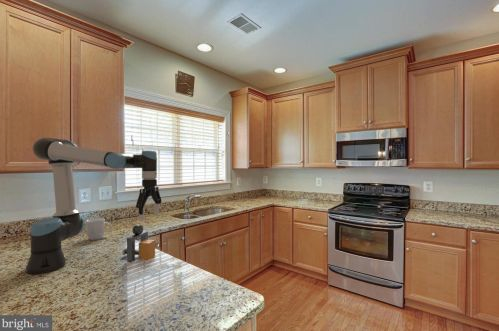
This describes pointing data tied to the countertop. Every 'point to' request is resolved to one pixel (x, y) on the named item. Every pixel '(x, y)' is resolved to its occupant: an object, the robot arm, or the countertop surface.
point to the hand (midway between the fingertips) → (149, 217)
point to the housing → (131, 241)
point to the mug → (96, 228)
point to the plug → (144, 249)
